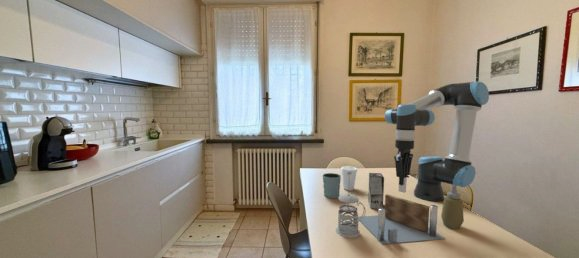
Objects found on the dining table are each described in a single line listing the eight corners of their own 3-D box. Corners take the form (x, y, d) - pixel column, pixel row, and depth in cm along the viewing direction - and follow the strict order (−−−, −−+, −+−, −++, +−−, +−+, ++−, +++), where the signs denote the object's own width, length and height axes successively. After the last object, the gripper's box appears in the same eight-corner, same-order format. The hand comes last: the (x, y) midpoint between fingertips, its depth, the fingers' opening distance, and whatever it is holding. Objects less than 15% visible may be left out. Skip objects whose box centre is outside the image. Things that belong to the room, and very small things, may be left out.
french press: (333, 225, 105) (334, 167, 103) (361, 226, 105) (362, 168, 103) (337, 237, 95) (338, 174, 93) (367, 238, 95) (369, 174, 93)
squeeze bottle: (436, 223, 107) (438, 183, 106) (448, 220, 110) (450, 181, 109) (455, 232, 100) (457, 188, 98) (467, 228, 103) (470, 186, 101)
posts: (433, 233, 98) (434, 204, 97) (440, 238, 94) (442, 208, 94) (376, 238, 94) (377, 208, 93) (381, 243, 91) (382, 212, 90)
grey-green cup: (344, 196, 140) (344, 176, 139) (331, 200, 134) (331, 178, 133) (331, 191, 148) (331, 172, 147) (318, 194, 142) (319, 174, 142)
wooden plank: (428, 231, 99) (430, 206, 98) (426, 232, 98) (428, 207, 97) (386, 215, 113) (387, 194, 112) (384, 216, 112) (385, 195, 111)
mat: (407, 213, 117) (407, 213, 117) (445, 239, 94) (445, 238, 94) (355, 217, 113) (356, 216, 113) (382, 244, 90) (382, 243, 90)
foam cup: (357, 191, 150) (358, 170, 149) (342, 190, 150) (343, 169, 149) (354, 186, 159) (354, 166, 158) (339, 186, 159) (340, 166, 158)
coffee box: (383, 209, 122) (384, 177, 121) (369, 208, 123) (370, 176, 122) (380, 202, 131) (381, 173, 130) (367, 201, 132) (368, 172, 131)
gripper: (403, 137, 116) (401, 186, 117) (389, 139, 108) (386, 192, 109) (420, 139, 110) (417, 191, 112) (406, 141, 102) (403, 197, 103)
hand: (402, 191), depth 110 cm, fingers closed
